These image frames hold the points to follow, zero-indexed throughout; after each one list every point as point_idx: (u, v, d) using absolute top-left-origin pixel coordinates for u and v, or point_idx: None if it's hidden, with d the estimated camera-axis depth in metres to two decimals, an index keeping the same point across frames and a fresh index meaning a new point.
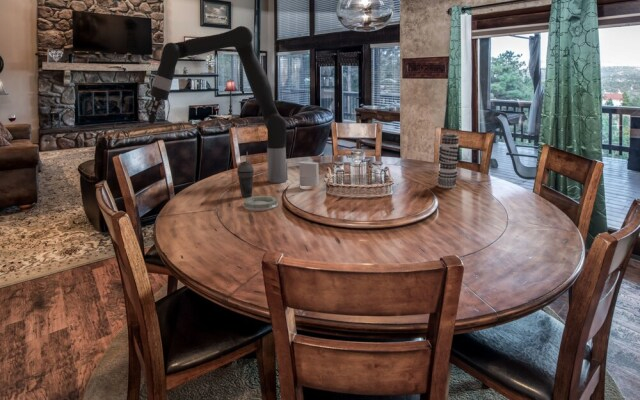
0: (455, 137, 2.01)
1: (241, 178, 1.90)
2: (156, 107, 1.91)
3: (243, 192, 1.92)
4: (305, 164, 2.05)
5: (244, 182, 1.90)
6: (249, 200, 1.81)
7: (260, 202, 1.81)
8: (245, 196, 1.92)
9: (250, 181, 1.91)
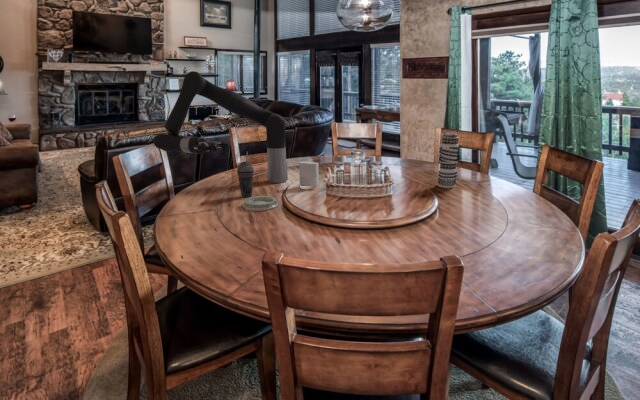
0: (455, 137, 2.01)
1: (241, 178, 1.90)
2: (198, 147, 1.90)
3: (243, 192, 1.92)
4: (305, 164, 2.05)
5: (244, 182, 1.90)
6: (249, 200, 1.81)
7: (260, 202, 1.81)
8: (245, 196, 1.92)
9: (250, 181, 1.91)
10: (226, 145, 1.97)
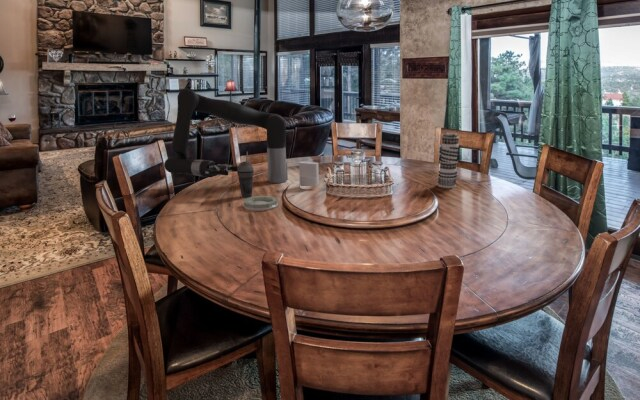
0: (455, 137, 2.01)
1: (241, 178, 1.90)
2: (209, 171, 1.91)
3: (243, 192, 1.92)
4: (305, 164, 2.05)
5: (244, 182, 1.90)
6: (249, 200, 1.81)
7: (260, 202, 1.81)
8: (245, 196, 1.92)
9: (250, 181, 1.91)
10: (237, 168, 1.98)
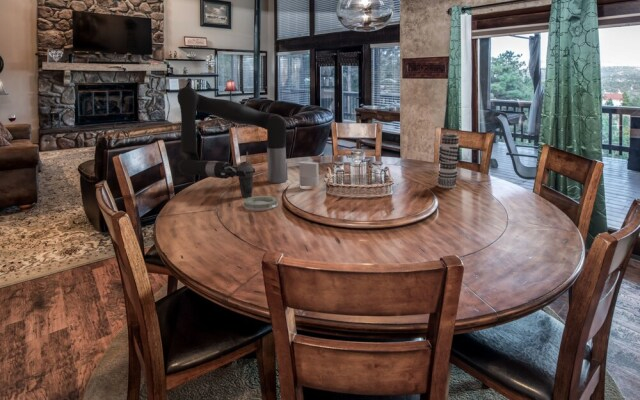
0: (455, 137, 2.01)
1: (241, 178, 1.90)
2: (225, 172, 1.88)
3: (243, 192, 1.92)
4: (305, 164, 2.05)
5: (244, 182, 1.90)
6: (249, 200, 1.81)
7: (260, 202, 1.81)
8: (245, 196, 1.92)
9: (250, 181, 1.91)
10: None
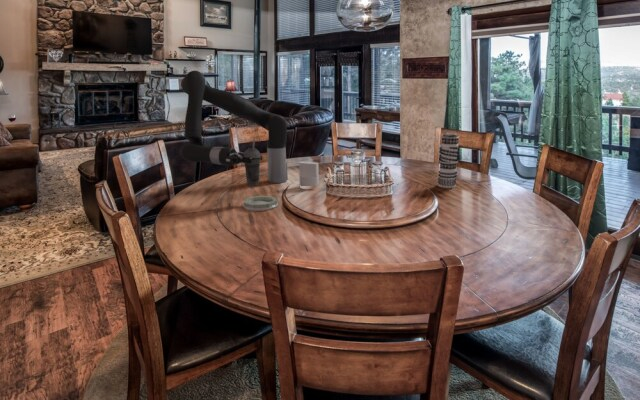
0: (455, 137, 2.01)
1: (247, 165, 1.78)
2: (231, 159, 1.76)
3: (249, 180, 1.80)
4: (305, 164, 2.05)
5: (250, 169, 1.78)
6: (249, 200, 1.81)
7: (260, 202, 1.81)
8: (251, 184, 1.80)
9: (257, 168, 1.79)
10: None
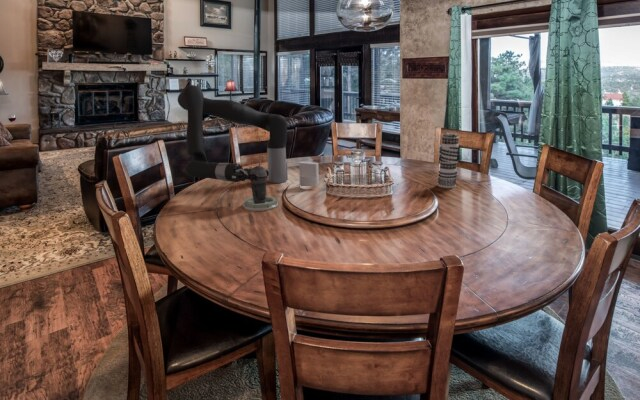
0: (455, 137, 2.01)
1: (254, 184, 1.75)
2: (236, 175, 1.73)
3: (256, 199, 1.77)
4: (305, 164, 2.05)
5: (257, 188, 1.75)
6: (249, 200, 1.81)
7: None
8: (258, 203, 1.77)
9: (263, 187, 1.76)
10: None
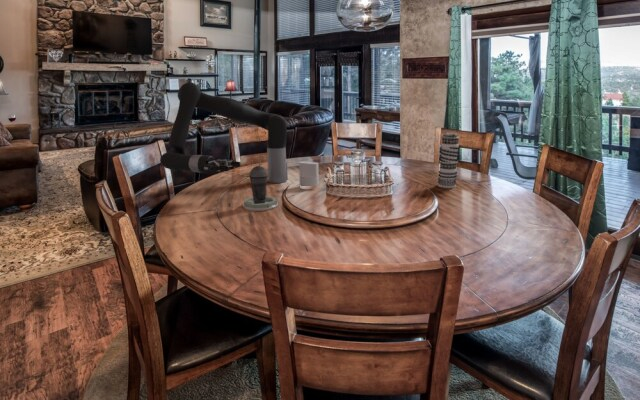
0: (455, 137, 2.01)
1: (254, 184, 1.75)
2: (208, 167, 1.79)
3: (256, 199, 1.77)
4: (305, 164, 2.05)
5: (257, 188, 1.75)
6: (249, 200, 1.81)
7: None
8: (258, 203, 1.77)
9: (263, 187, 1.76)
10: (238, 164, 1.86)
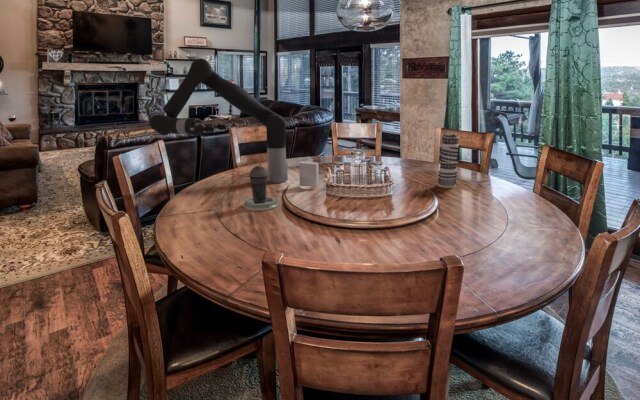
0: (455, 137, 2.01)
1: (254, 184, 1.75)
2: (194, 127, 1.84)
3: (256, 199, 1.77)
4: (305, 164, 2.05)
5: (257, 188, 1.75)
6: (249, 200, 1.81)
7: None
8: (258, 203, 1.77)
9: (263, 187, 1.76)
10: (223, 126, 1.91)
